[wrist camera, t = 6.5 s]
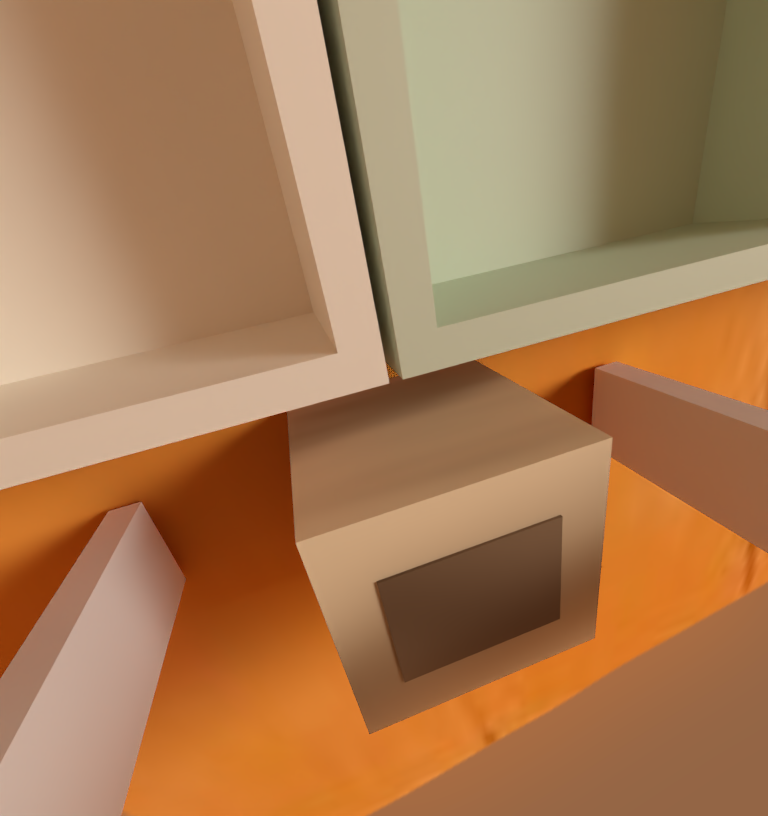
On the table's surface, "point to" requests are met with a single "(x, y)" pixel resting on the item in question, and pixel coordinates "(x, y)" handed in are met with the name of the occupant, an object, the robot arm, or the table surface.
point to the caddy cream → (170, 227)
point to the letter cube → (447, 532)
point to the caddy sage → (548, 162)
